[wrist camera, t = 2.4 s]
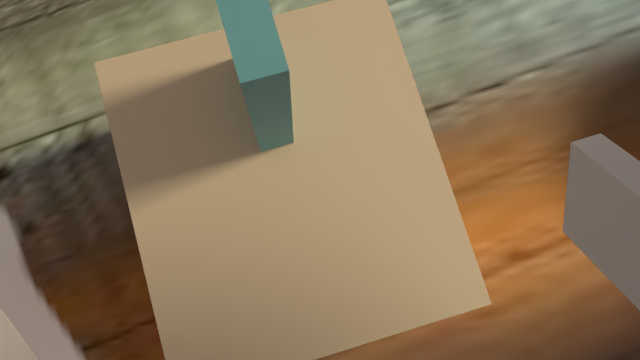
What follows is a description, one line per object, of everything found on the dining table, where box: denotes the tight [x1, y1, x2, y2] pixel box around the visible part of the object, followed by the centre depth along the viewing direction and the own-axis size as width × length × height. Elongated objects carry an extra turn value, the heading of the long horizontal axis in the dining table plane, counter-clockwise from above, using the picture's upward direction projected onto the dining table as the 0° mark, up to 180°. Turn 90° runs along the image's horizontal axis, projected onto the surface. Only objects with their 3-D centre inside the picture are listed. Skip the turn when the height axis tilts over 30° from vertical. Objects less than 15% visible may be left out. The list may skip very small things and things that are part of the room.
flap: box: [95, 0, 491, 360], centre depth 28 cm, size 20×18×12 cm
